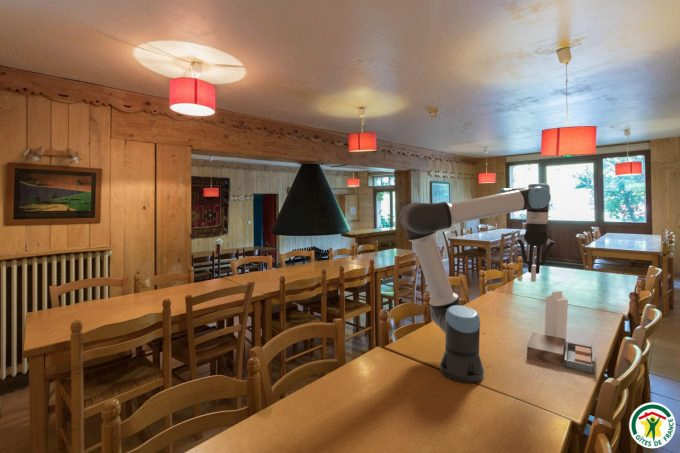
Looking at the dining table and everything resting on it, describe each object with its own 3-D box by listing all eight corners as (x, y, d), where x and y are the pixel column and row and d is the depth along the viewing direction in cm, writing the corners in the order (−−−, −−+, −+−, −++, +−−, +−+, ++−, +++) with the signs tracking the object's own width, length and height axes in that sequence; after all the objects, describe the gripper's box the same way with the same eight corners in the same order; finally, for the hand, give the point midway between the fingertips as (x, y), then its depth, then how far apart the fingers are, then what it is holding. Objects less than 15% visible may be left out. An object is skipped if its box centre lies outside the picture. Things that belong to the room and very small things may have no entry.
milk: (566, 340, 151) (568, 292, 149) (555, 342, 149) (558, 293, 148) (554, 335, 157) (556, 289, 155) (543, 337, 155) (546, 290, 153)
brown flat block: (526, 357, 135) (527, 346, 135) (532, 342, 150) (532, 332, 149) (562, 365, 128) (563, 354, 128) (564, 349, 143) (565, 338, 142)
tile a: (591, 362, 124) (590, 368, 125) (590, 357, 128) (590, 363, 129) (574, 358, 127) (574, 364, 128) (575, 353, 131) (574, 359, 132)
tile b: (590, 353, 132) (590, 359, 132) (590, 348, 136) (590, 354, 136) (575, 350, 135) (575, 356, 135) (575, 345, 139) (575, 351, 139)
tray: (564, 367, 127) (564, 354, 126) (566, 348, 143) (566, 337, 143) (593, 374, 122) (594, 361, 121) (592, 353, 138) (593, 342, 137)
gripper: (517, 222, 135) (513, 280, 136) (555, 224, 127) (551, 285, 129) (519, 221, 141) (516, 277, 142) (556, 223, 133) (552, 281, 135)
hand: (533, 281), depth 136 cm, fingers closed
